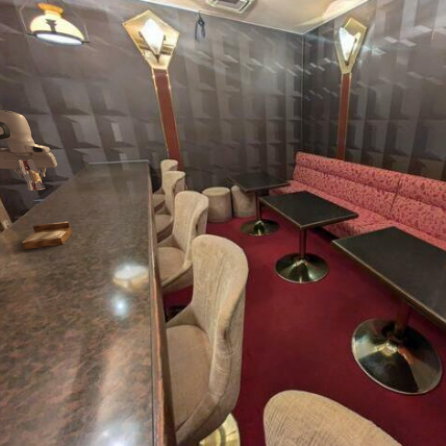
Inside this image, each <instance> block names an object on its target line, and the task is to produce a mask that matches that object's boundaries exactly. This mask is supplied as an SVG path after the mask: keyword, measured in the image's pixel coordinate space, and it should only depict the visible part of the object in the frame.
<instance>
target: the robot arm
mask: <svg viewBox="0 0 446 446" xmlns="http://www.w3.org/2000/svg"><path fill="white" fill-rule="evenodd" d="M0 140H5V141H6V144H7V146H8V147H3V148H1V147H0V169H1V170H2V169H3V170H4V169H5V170H7V169H9V170H11V169H12V170H13V172H15V173H16V174H17V175H18V177H19V179H20V178H21V179H22V178H24V176H23V175H22V173H21V171H20V169H19V164H18V160H29V159H34V160H33V161H34V163H35V165H36V167H37V168H40V170H41V173H40V177H41V178H45V177H46V172H47V169H49V168H50V169H52V168H57V166H58V161H57V159H56V157H55V155H54V154H53V153H52V152H50V151H51V149H50V147H49V146H46V145H40V144H36V142H35V140H34V138H33V137H32V130H31V128H30V125H29V123H28V121H27V119H26V118H25V116H24V115H23V114H21V113H19V112H15V111H10V110H3V109H0ZM17 159H18V160H17ZM24 179H25V178H24Z"/></svg>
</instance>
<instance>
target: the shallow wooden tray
mask: <svg viewBox="0 0 446 446" xmlns="http://www.w3.org/2000/svg"><path fill="white" fill-rule="evenodd" d="M32 229H33V232H32V233H31V234H30V235H29V236H28V237H26V238H25V239H24V240H23V241H22V242H21V245H22V247H23V250H31V249H37V248H45V247H54V246H60V245H64V244H65V243H66V242H67V240H68V238H69V237H70V236H71V234H72V233H73V232H72V229H71V224H70V222H69V221H62V222H54V223H42V224H35V225H32Z"/></svg>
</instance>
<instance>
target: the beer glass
mask: <svg viewBox="0 0 446 446" xmlns="http://www.w3.org/2000/svg"><path fill="white" fill-rule="evenodd" d="M17 160H18V159H17ZM33 160H34V159H29V160H18V164H19V169H20V170H19V171H20V172H21V173H22V175H23V176H24V179H25V182H26V184H27V190H28V191H30V192H31V191H32V192H33V191H43V190H46V186H45V185H44V183H43V177H40V173H42V170H41V168H37V167H36V165H35V163H34V161H33Z"/></svg>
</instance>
